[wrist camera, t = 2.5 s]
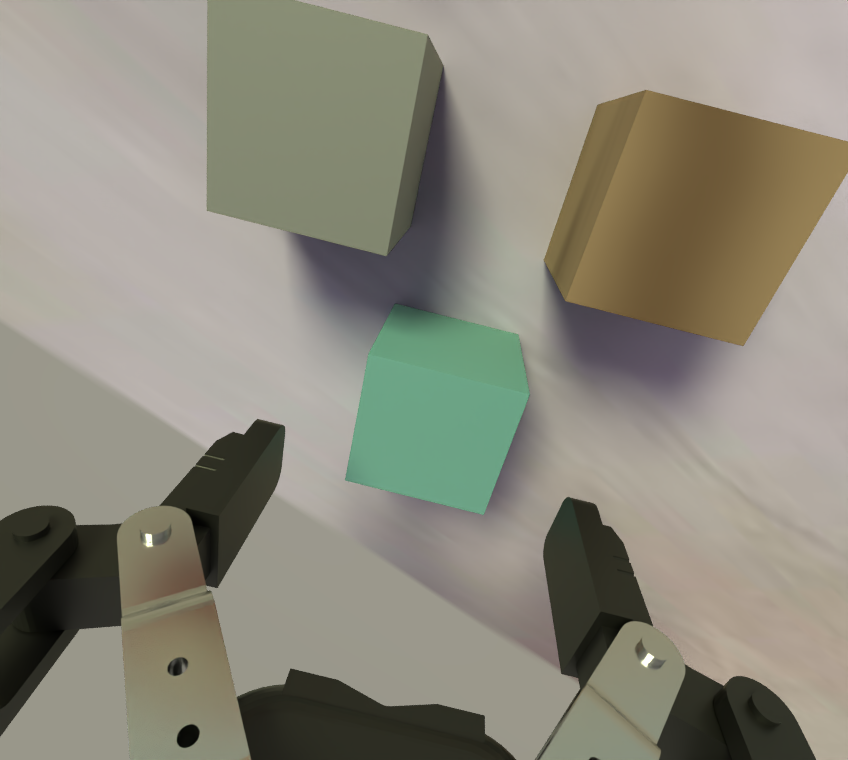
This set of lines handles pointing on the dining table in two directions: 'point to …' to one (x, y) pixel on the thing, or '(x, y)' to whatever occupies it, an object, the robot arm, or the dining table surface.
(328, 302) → the dining table surface
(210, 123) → the grey-green rectangular block
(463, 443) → the teal block
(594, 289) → the brass block
